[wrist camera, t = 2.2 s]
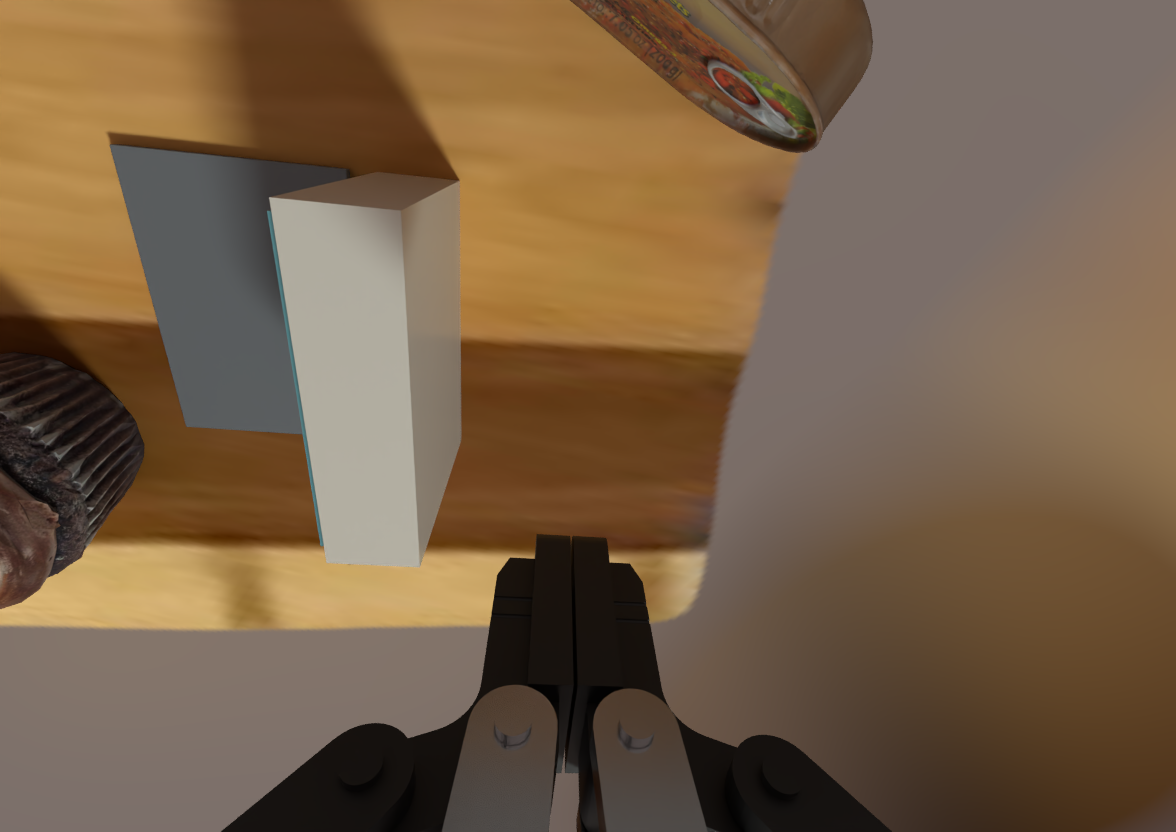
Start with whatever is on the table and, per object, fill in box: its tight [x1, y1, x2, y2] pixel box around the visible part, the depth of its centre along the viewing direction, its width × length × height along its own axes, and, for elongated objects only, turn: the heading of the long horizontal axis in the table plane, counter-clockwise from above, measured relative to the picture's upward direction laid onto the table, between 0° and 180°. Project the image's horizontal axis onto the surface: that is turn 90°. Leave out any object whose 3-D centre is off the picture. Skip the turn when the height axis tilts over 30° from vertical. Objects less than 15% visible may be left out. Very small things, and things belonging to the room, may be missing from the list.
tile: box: [267, 172, 461, 567], centre depth 20 cm, size 12×4×9 cm, turn 174°
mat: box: [110, 144, 350, 434], centre depth 24 cm, size 12×8×1 cm
